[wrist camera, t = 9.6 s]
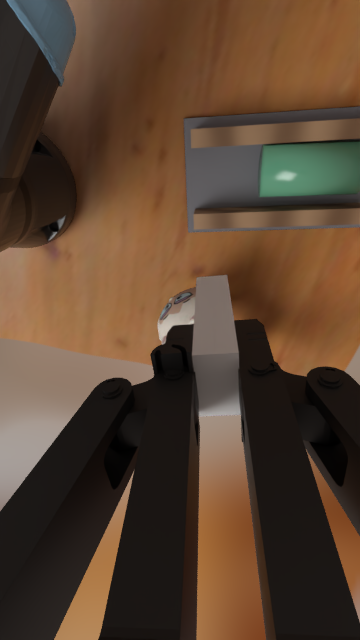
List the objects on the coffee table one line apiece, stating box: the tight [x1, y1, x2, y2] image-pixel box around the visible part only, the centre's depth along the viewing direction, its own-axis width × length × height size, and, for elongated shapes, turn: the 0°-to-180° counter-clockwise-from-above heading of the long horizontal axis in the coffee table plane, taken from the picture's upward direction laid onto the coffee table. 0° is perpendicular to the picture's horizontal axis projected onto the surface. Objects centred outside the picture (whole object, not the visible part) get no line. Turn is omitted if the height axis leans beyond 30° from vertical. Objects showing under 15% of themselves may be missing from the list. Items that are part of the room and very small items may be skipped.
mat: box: [184, 107, 360, 232], centre depth 40 cm, size 22×13×1 cm, turn 93°
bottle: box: [258, 140, 360, 197], centre depth 36 cm, size 5×5×15 cm
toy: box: [158, 287, 196, 344], centre depth 43 cm, size 9×19×15 cm, turn 46°
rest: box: [191, 118, 360, 230], centre depth 38 cm, size 20×11×4 cm, turn 93°
